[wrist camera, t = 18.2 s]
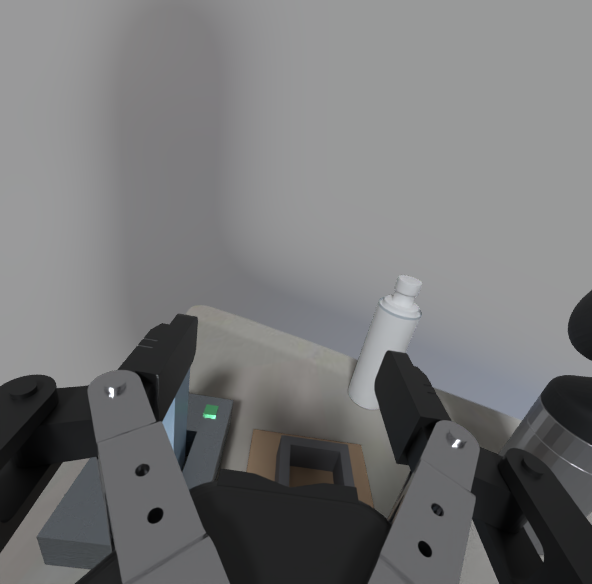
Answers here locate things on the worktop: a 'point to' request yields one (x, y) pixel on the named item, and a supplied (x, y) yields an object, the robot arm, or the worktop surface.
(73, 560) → the port block
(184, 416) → the plug
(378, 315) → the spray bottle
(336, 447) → the holster
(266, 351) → the worktop surface
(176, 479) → the robot arm
